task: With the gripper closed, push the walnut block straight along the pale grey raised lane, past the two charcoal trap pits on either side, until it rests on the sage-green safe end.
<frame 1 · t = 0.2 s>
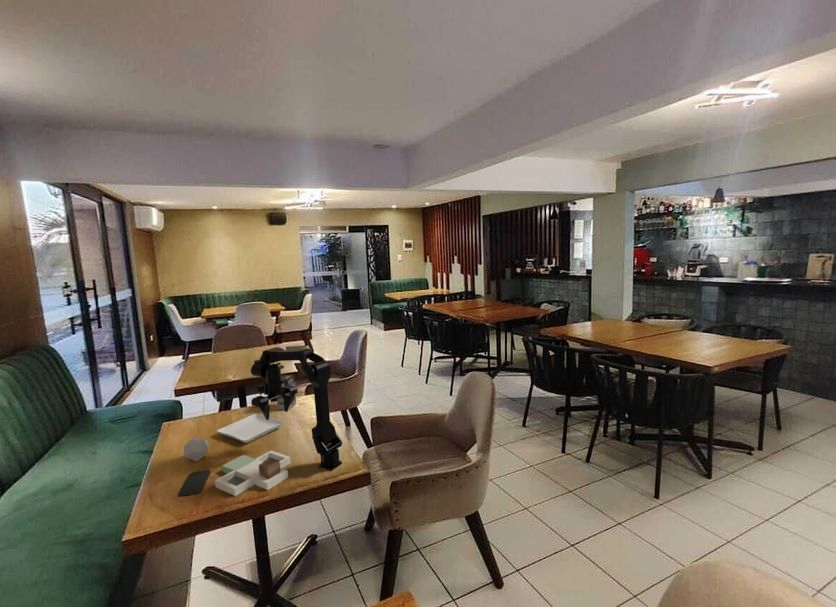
hand: (277, 415, 166), 15 cm above the table, tool pointing down, fingers open, 9 cm apart
walnut block: (270, 473, 145), point 2 cm above the table, touching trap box
phone: (195, 484, 145), on the table
die: (197, 458, 163), on the table
coffee box: (287, 407, 215), on the table
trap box: (255, 474, 149), on the table
salad plate: (251, 433, 185), on the table
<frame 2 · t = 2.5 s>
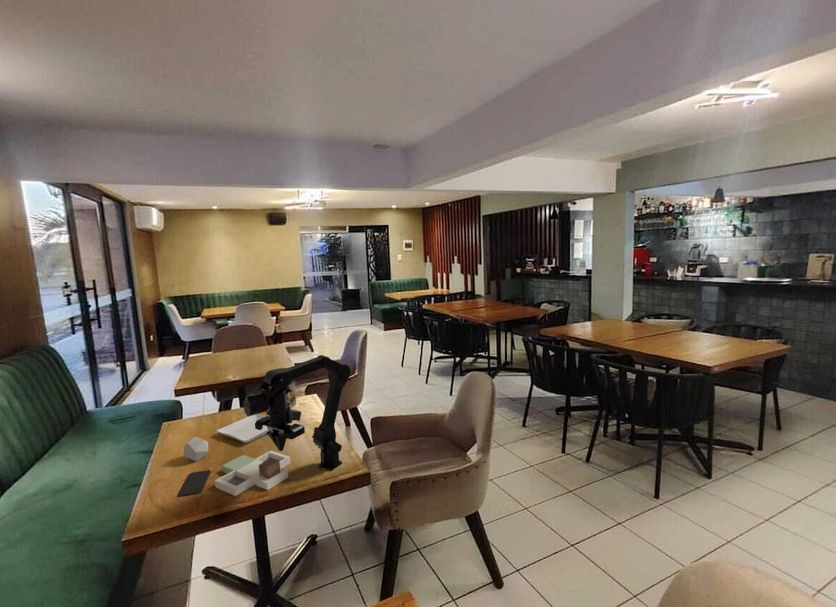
hand: (281, 450, 140), 13 cm above the table, tool pointing down, fingers closed
nothing on the table moved.
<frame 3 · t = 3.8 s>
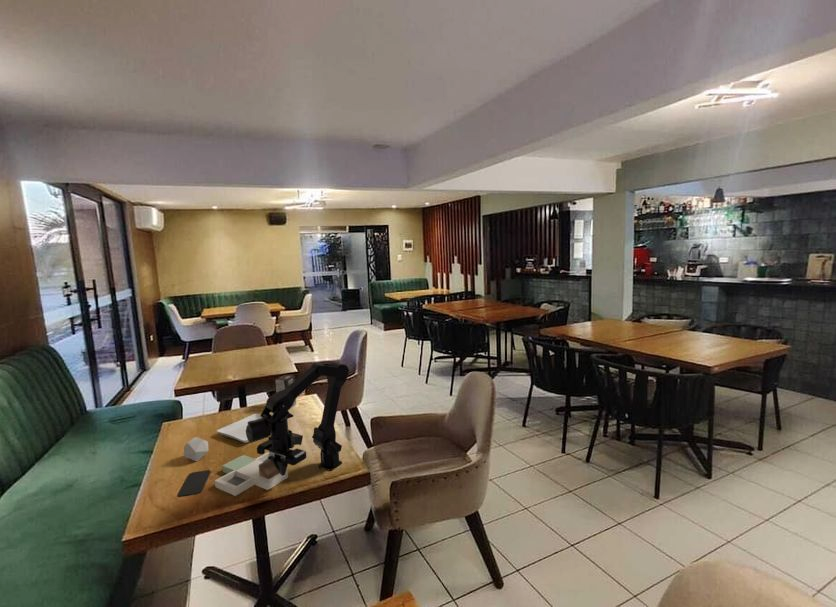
hand: (283, 474, 141), 4 cm above the table, tool pointing down, fingers closed
nothing on the table moved.
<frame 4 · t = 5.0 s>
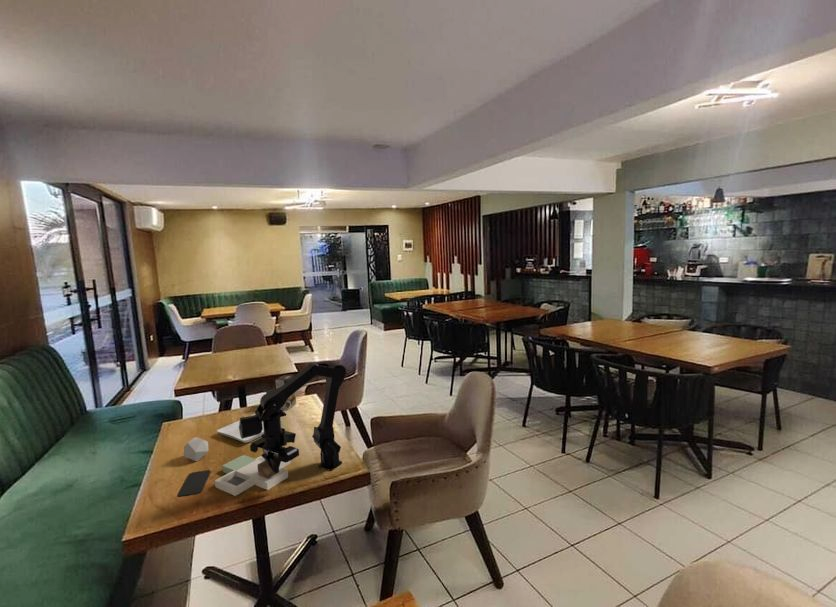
hand: (276, 472, 143), 4 cm above the table, tool pointing down, fingers closed
walnut block: (268, 473, 145), point 3 cm above the table, touching gripper
everything else where it was.
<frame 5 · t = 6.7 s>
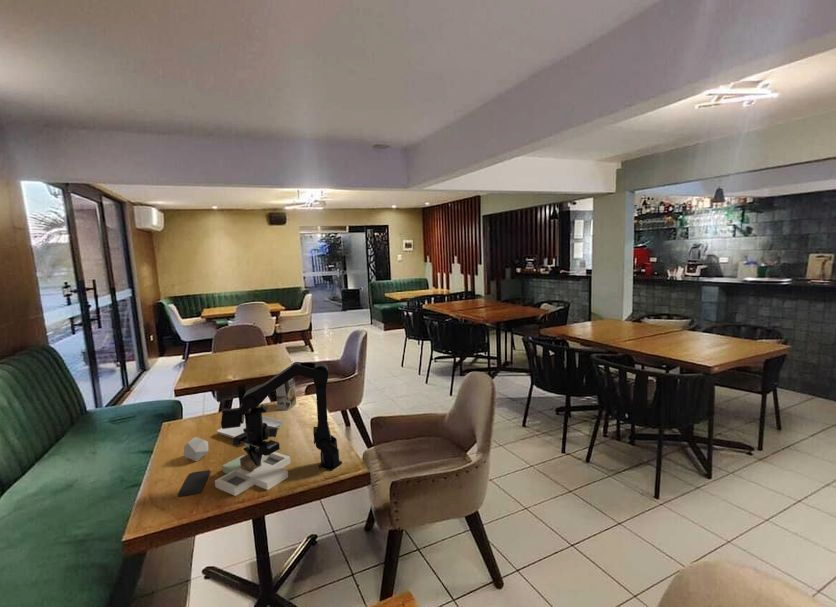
hand: (257, 465, 147), 4 cm above the table, tool pointing down, fingers closed
walnut block: (251, 467, 150), point 3 cm above the table, touching gripper
everything else where it was.
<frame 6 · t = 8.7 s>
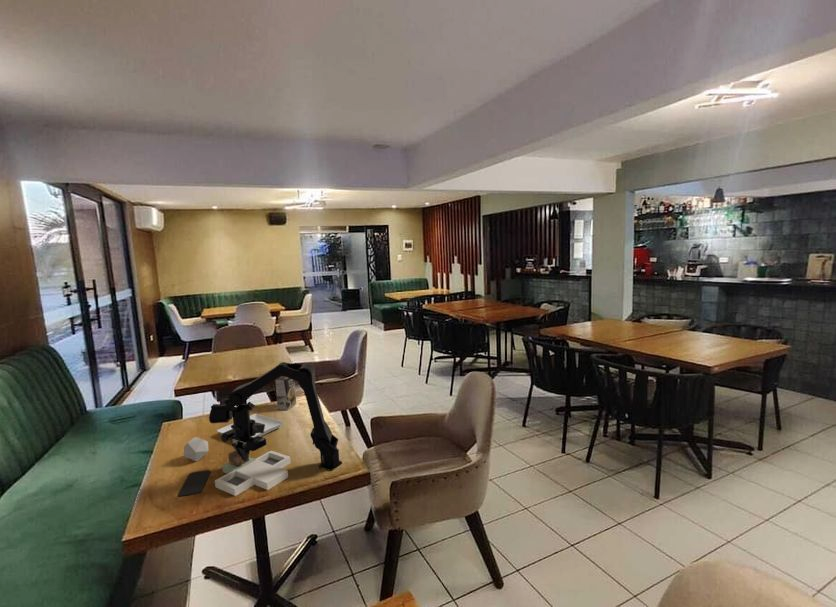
hand: (245, 461, 151), 4 cm above the table, tool pointing down, fingers closed
walnut block: (239, 462, 153), point 2 cm above the table, touching gripper, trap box
everything else where it was.
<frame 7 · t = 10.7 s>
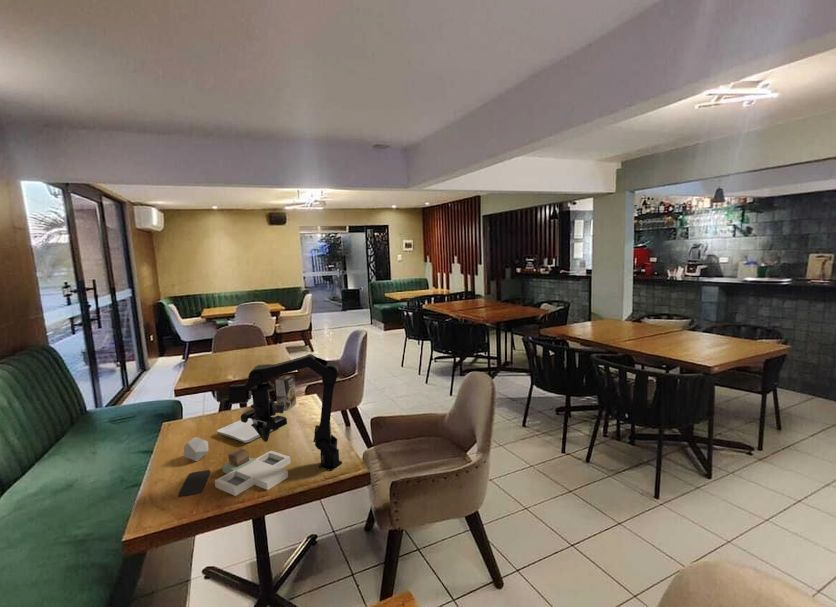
hand: (265, 441, 149), 12 cm above the table, tool pointing down, fingers closed
walnut block: (239, 462, 153), point 2 cm above the table, touching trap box
everything else where it was.
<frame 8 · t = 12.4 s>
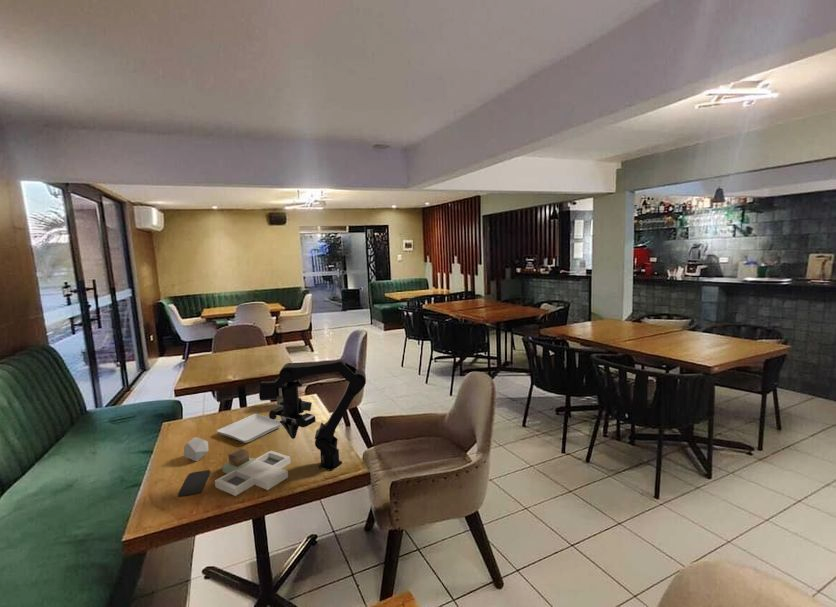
hand: (293, 438, 151), 12 cm above the table, tool pointing down, fingers closed
nothing on the table moved.
at the end: walnut block inside the target area (0.1 cm from its centre), point 2.5 cm above the table; walnut block tilted 0° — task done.
